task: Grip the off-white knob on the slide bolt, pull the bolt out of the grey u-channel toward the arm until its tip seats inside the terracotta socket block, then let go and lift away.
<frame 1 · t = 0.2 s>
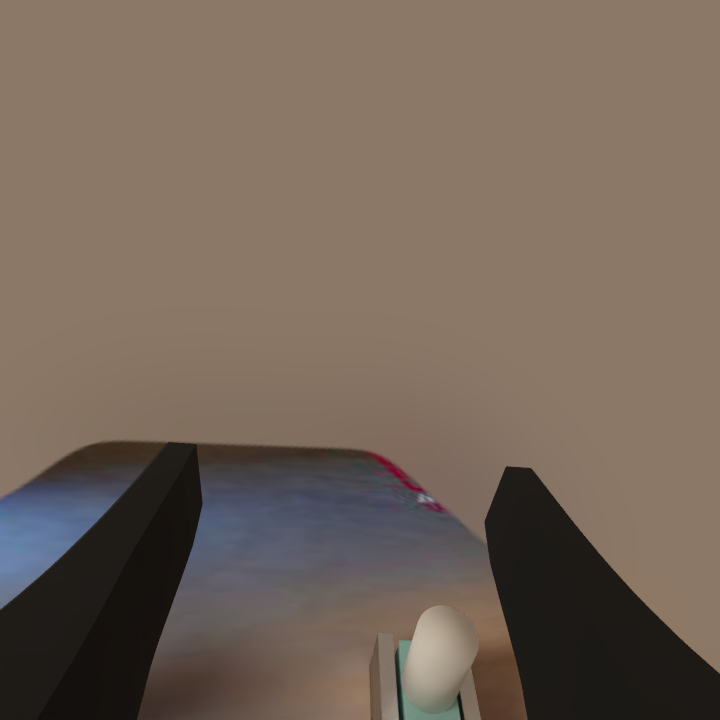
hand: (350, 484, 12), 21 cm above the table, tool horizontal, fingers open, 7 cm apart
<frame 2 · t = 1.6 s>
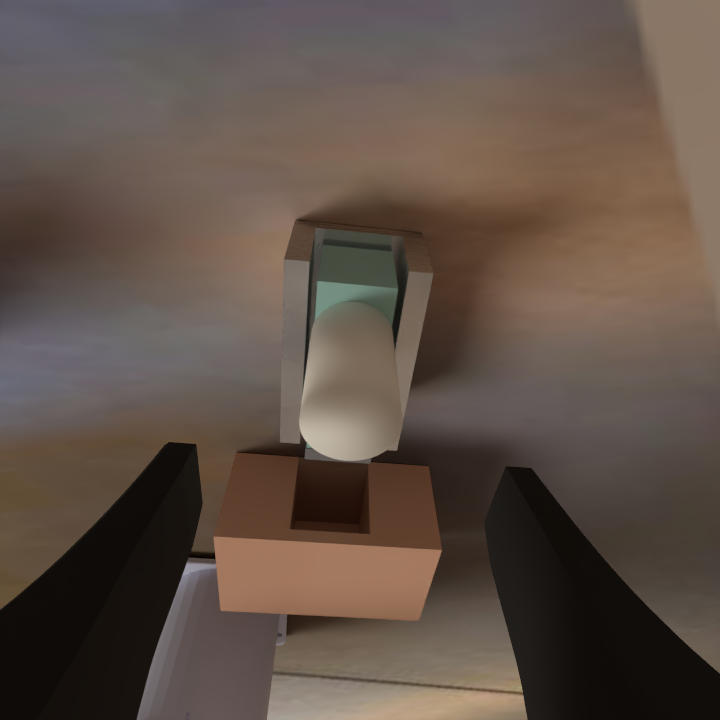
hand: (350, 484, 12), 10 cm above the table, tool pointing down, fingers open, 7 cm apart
socket block: (329, 497, 28), on the table
slide bolt: (346, 395, 18), point 5 cm above the table, slide at 0.0 cm
grey u-channel: (349, 317, 21), on the table
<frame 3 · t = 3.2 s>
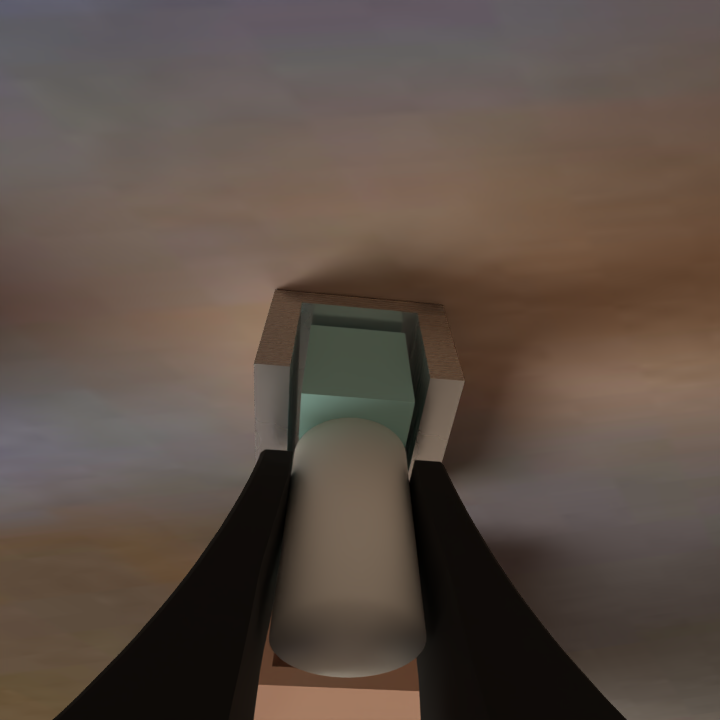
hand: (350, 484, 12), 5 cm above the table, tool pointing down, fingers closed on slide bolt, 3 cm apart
socket block: (324, 596, 23), on the table
slide bolt: (342, 532, 13), point 5 cm above the table, slide at 0.0 cm, touching gripper
grey u-channel: (347, 404, 17), on the table
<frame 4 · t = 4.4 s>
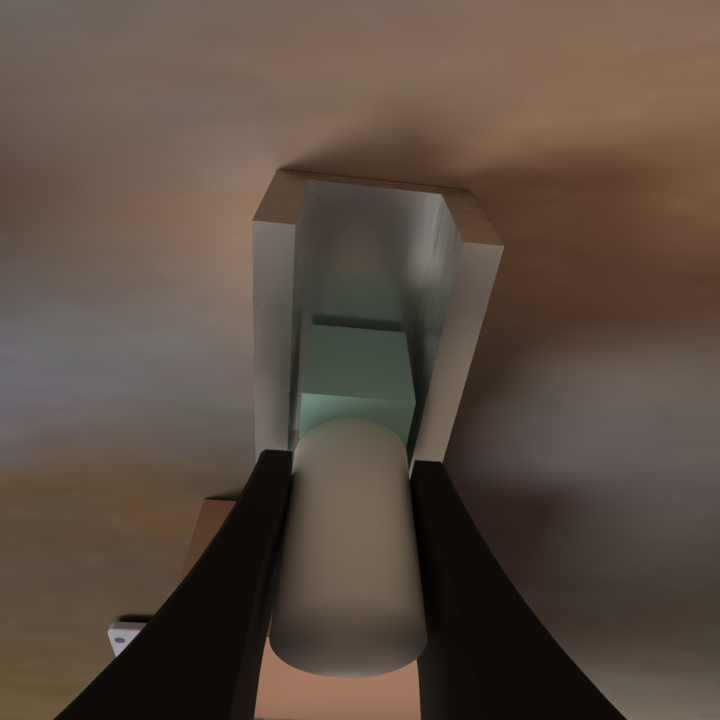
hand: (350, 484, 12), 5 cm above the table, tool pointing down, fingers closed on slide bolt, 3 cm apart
socket block: (329, 553, 21), on the table
slide bolt: (342, 532, 13), point 5 cm above the table, slide at 3.3 cm, touching gripper
grey u-channel: (357, 319, 15), on the table
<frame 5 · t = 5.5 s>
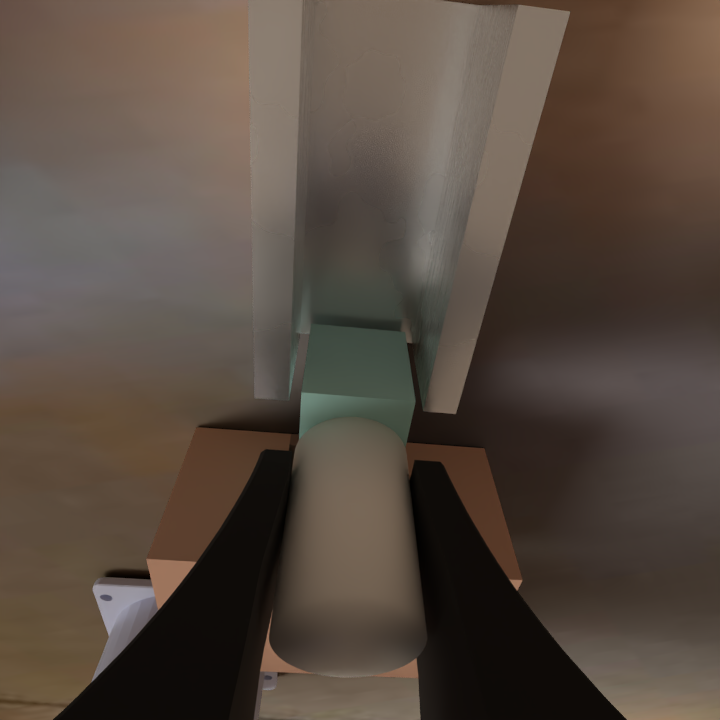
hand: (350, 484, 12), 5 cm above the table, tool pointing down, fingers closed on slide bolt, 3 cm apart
socket block: (336, 495, 19), on the table
slide bolt: (342, 532, 13), point 5 cm above the table, slide at 7.0 cm, touching gripper
grey u-channel: (372, 191, 13), on the table
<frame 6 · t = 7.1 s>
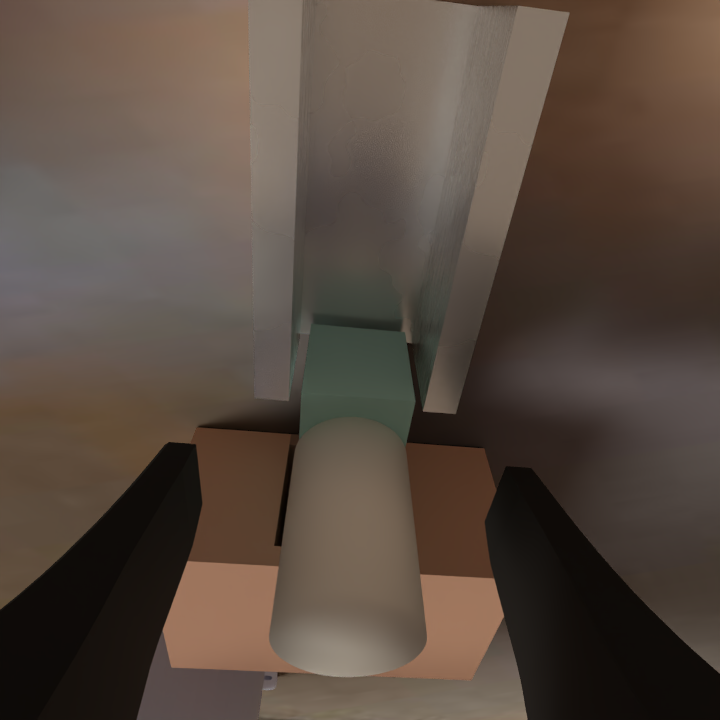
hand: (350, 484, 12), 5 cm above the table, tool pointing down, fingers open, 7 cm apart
socket block: (336, 495, 19), on the table
slide bolt: (342, 532, 13), point 5 cm above the table, slide at 7.0 cm
grey u-channel: (372, 191, 13), on the table
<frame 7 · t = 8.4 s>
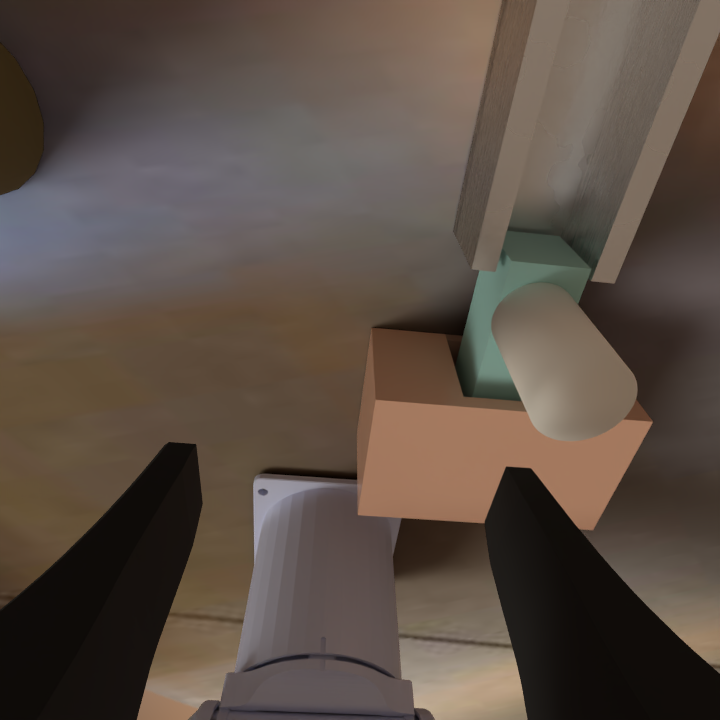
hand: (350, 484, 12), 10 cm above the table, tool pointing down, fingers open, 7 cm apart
socket block: (470, 392, 24), on the table
slide bolt: (521, 380, 18), point 5 cm above the table, slide at 7.0 cm
grey u-channel: (546, 125, 17), on the table
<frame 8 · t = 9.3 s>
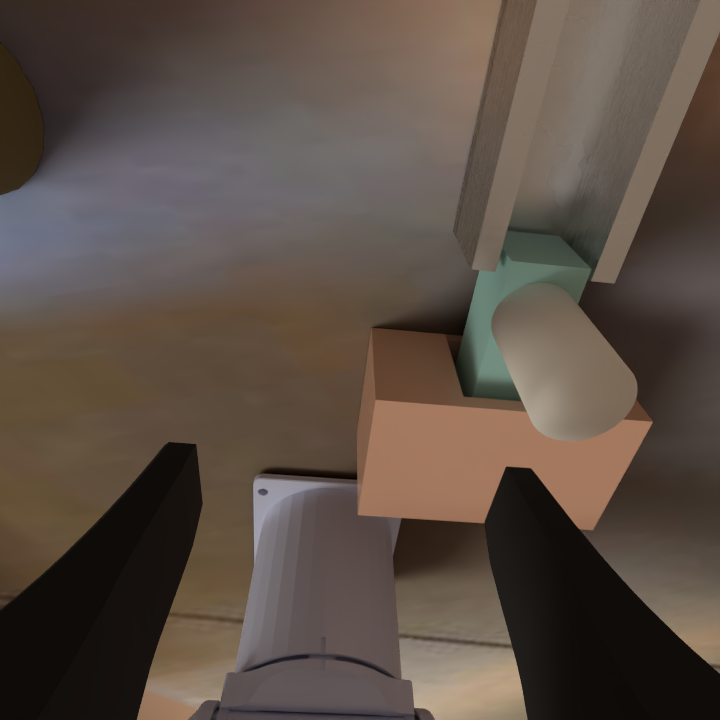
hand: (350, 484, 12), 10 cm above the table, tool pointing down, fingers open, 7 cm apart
socket block: (470, 392, 24), on the table
slide bolt: (521, 380, 18), point 5 cm above the table, slide at 7.0 cm
grey u-channel: (546, 125, 17), on the table
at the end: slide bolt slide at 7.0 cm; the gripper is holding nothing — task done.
